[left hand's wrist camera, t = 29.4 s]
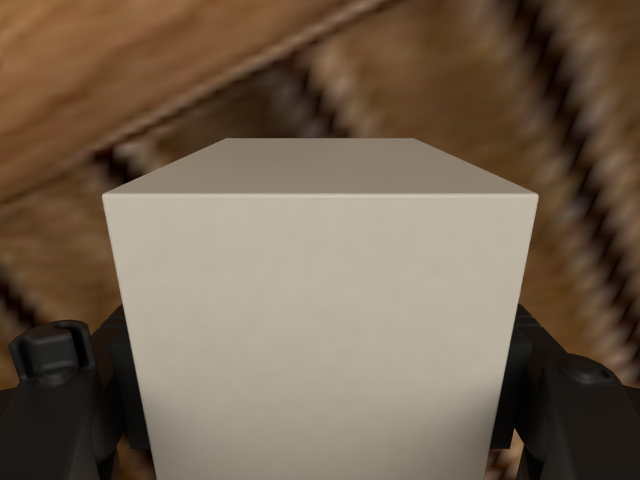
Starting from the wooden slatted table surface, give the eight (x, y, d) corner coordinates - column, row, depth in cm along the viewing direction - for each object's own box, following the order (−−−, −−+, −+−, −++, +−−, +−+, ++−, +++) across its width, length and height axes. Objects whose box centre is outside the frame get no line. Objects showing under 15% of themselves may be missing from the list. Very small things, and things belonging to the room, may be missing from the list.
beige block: (224, 138, 14) (99, 193, 6) (415, 138, 14) (541, 194, 6) (241, 343, 17) (172, 561, 9) (398, 343, 17) (468, 561, 9)
